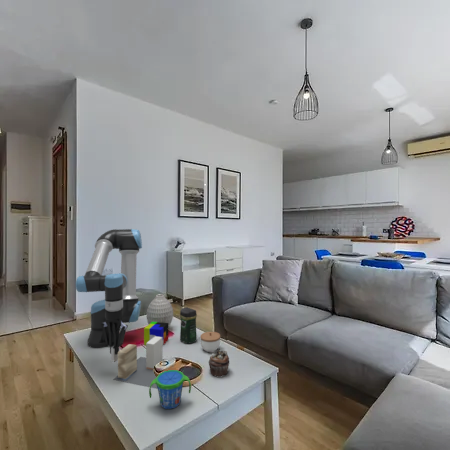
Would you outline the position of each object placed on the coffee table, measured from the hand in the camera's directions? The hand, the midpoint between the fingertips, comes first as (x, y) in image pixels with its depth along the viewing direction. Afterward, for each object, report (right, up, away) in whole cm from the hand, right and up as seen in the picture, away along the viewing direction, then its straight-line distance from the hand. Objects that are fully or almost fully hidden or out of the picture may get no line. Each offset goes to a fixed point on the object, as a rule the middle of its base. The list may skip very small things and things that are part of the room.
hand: (114, 360), depth 126 cm
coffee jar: (+29, -5, +34) cm, 45 cm away
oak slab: (+7, -6, -2) cm, 9 cm away
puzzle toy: (+11, -6, +31) cm, 34 cm away
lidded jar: (+42, -6, +23) cm, 48 cm away
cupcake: (+47, -6, +2) cm, 48 cm away
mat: (+17, -6, +1) cm, 18 cm away
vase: (+9, -5, +49) cm, 50 cm away
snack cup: (+29, -7, -20) cm, 36 cm away
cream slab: (+16, -5, +7) cm, 19 cm away
